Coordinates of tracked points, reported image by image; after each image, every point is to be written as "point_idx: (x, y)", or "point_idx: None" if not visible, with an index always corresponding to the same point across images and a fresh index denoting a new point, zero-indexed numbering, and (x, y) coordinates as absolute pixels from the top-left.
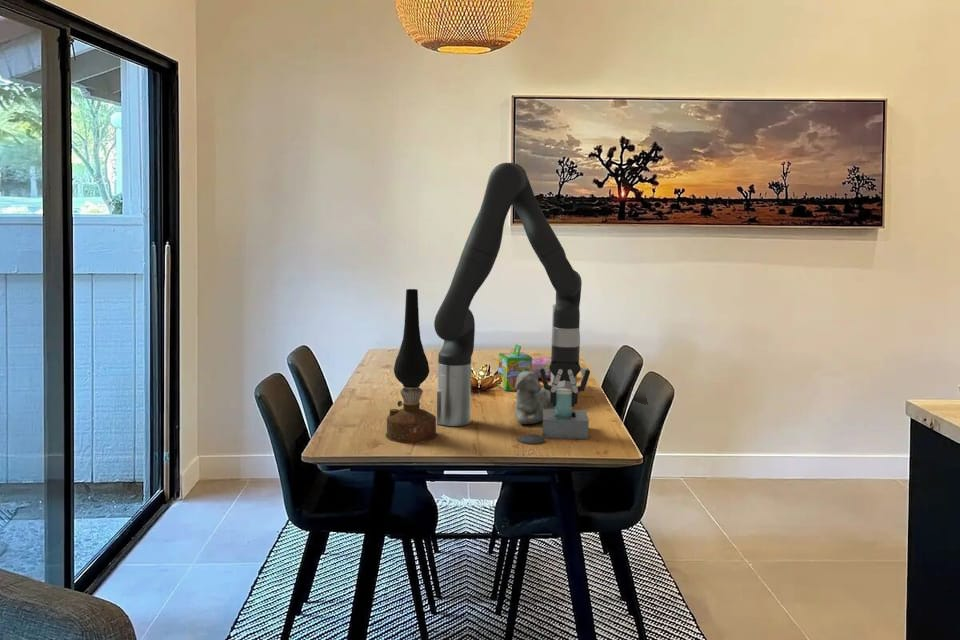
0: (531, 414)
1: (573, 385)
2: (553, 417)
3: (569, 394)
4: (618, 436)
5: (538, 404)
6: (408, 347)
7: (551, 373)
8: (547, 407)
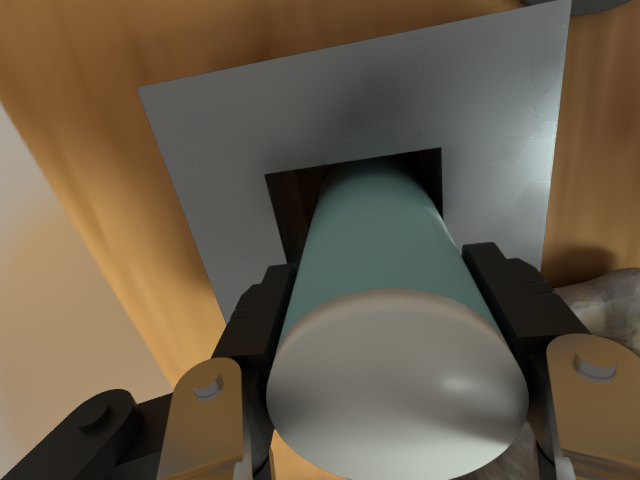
0: None
1: (210, 471)
2: (456, 120)
3: (300, 315)
4: (73, 189)
5: None
6: None
7: None
8: None
